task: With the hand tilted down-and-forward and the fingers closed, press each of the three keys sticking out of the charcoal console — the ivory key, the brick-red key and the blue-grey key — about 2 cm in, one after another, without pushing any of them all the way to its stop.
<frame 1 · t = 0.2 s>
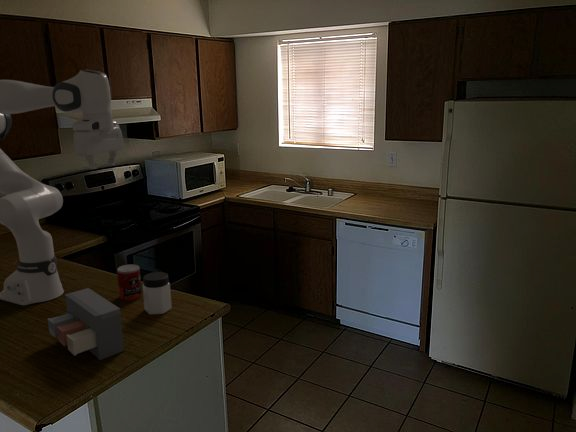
hand: (102, 166, 157), 48 cm above the counter, tool pointing down, fingers open, 8 cm apart
jar: (158, 309, 165), on the counter
blue-grey key: (64, 323, 142), point 5 cm above the counter, slide at 0.0 cm
brick key: (74, 331, 138), point 6 cm above the counter, slide at 0.0 cm
ivory key: (84, 340, 133), point 6 cm above the counter, slide at 0.0 cm
canned food: (130, 297, 175), on the counter
console: (84, 346, 140), on the counter
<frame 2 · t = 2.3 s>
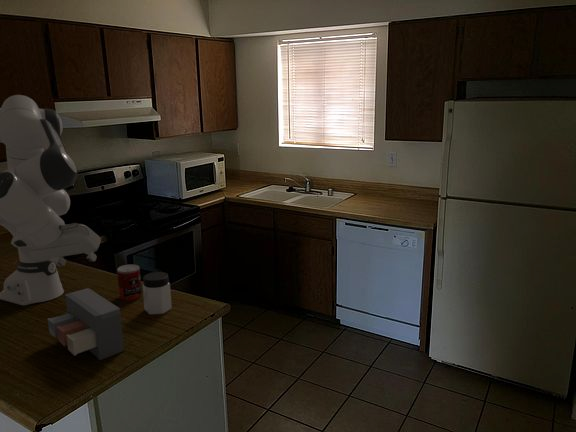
hand: (78, 261, 128), 28 cm above the counter, tool tilted 35°, fingers open, 8 cm apart
nothing on the counter moved.
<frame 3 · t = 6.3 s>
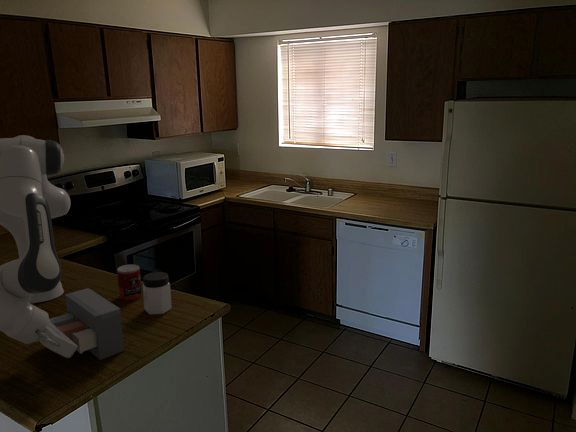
hand: (74, 346, 131), 5 cm above the counter, tool tilted 45°, fingers closed, pressing on ivory key
ivory key: (90, 338, 134), point 6 cm above the counter, slide at 1.6 cm, touching gripper
everything else where it was.
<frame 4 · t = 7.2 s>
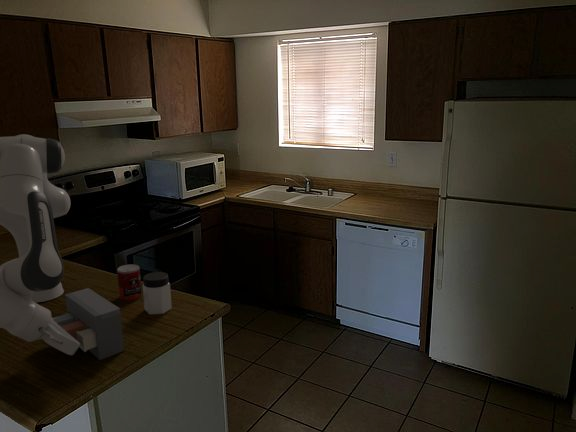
hand: (76, 344, 132), 5 cm above the counter, tool tilted 45°, fingers closed
ivory key: (94, 337, 135), point 5 cm above the counter, slide at 2.7 cm
everything else where it was.
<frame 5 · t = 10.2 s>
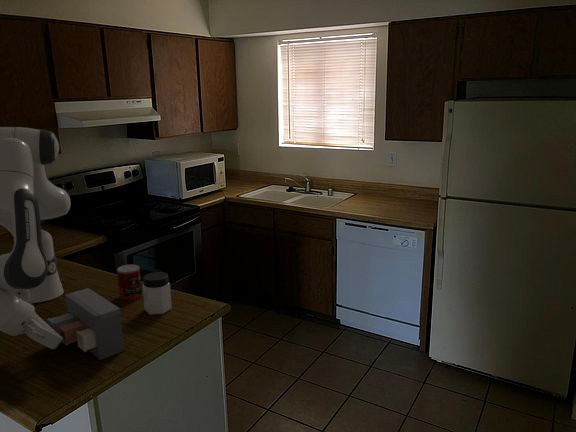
hand: (60, 338, 135), 5 cm above the counter, tool tilted 45°, fingers closed, pressing on brick key
brick key: (76, 331, 138), point 5 cm above the counter, slide at 0.5 cm, touching gripper
everything else where it was.
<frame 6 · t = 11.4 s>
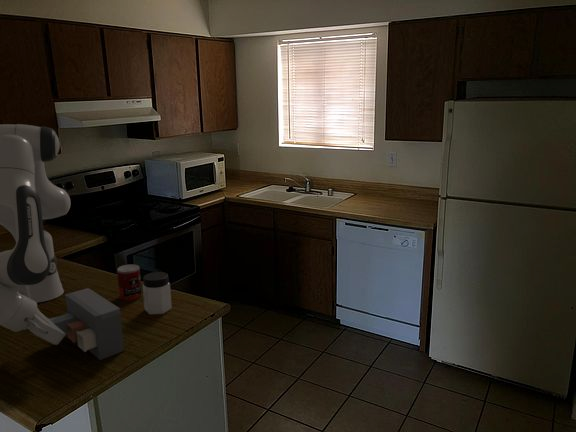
hand: (62, 334, 136), 5 cm above the counter, tool tilted 45°, fingers closed
brick key: (83, 328, 139), point 6 cm above the counter, slide at 2.6 cm
everything else where it was.
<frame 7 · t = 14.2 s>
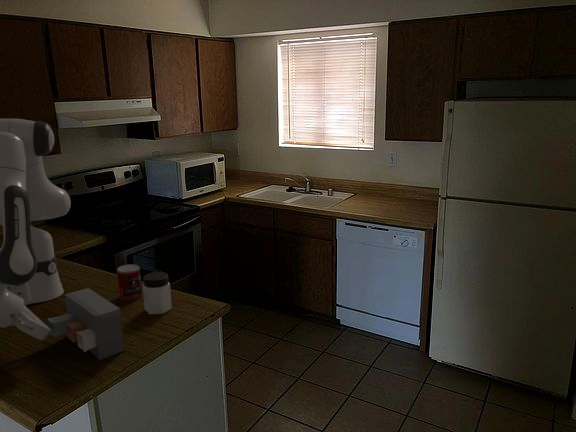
hand: (49, 331, 140), 5 cm above the counter, tool tilted 45°, fingers closed, pressing on blue-grey key
blue-grey key: (64, 323, 142), point 5 cm above the counter, slide at 0.0 cm, touching gripper
everything else where it was.
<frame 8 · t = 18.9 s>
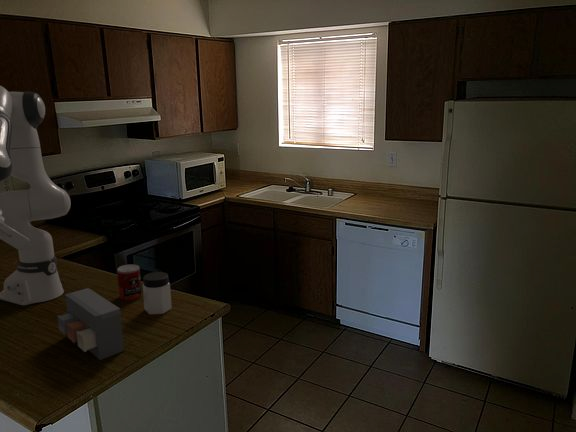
hand: (29, 247, 135), 29 cm above the counter, tool tilted 45°, fingers closed
blue-grey key: (74, 320, 144), point 5 cm above the counter, slide at 2.7 cm
everything else where it was.
at the end: ivory key slide at 2.7 cm; brick key slide at 2.6 cm; blue-grey key slide at 2.7 cm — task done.
